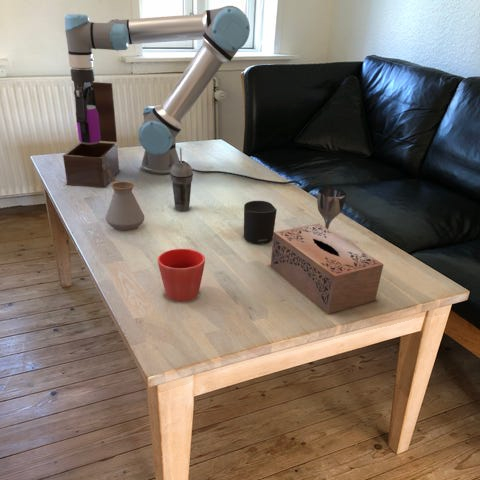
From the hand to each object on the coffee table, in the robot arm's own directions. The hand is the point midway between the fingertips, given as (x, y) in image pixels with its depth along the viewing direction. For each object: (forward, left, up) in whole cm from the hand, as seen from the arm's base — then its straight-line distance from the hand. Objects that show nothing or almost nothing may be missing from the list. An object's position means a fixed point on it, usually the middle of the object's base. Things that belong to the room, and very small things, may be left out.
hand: (89, 138), depth 182 cm
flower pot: (-46, +78, -14) cm, 92 cm away
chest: (0, 0, -14) cm, 14 cm away
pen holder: (-63, +43, -14) cm, 78 cm away
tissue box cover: (-80, +67, -14) cm, 105 cm away
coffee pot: (-20, +37, -14) cm, 45 cm away
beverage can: (0, 0, -1) cm, 1 cm away
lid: (0, -9, +7) cm, 12 cm away
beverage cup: (-37, +24, -14) cm, 46 cm away
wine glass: (-83, +41, -14) cm, 94 cm away
